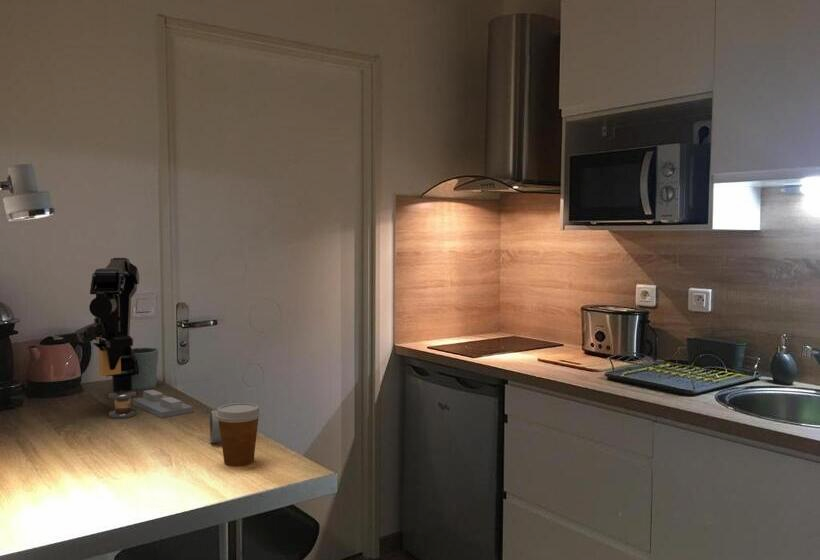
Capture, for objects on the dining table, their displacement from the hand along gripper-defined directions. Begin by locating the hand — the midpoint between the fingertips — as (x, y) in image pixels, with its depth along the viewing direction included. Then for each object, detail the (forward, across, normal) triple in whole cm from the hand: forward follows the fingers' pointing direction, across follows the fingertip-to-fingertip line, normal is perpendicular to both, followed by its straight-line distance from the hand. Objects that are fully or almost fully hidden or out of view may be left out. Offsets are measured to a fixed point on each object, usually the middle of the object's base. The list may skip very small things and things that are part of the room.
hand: (110, 368), depth 197 cm
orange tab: (+2, 0, 0) cm, 2 cm away
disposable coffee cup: (+12, +65, +3) cm, 66 cm away
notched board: (+12, +9, +11) cm, 18 cm away
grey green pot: (+12, -22, +18) cm, 31 cm away
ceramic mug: (+12, +48, +9) cm, 50 cm away
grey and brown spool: (+12, +9, 0) cm, 14 cm away
